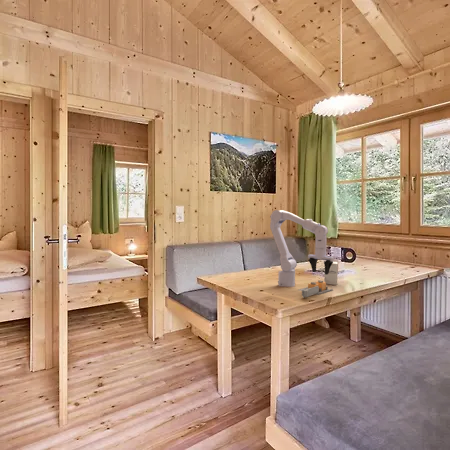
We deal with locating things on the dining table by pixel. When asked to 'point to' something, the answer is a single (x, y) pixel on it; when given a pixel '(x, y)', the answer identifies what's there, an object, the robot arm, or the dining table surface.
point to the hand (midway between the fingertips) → (320, 273)
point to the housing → (319, 290)
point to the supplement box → (332, 274)
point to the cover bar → (310, 291)
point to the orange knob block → (321, 284)
